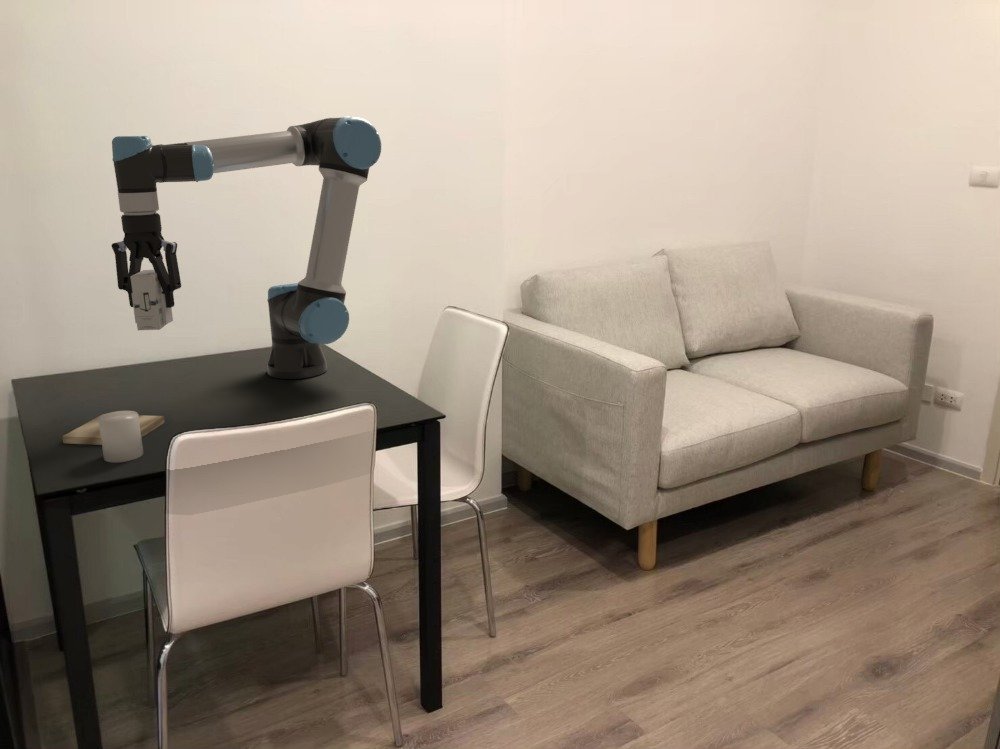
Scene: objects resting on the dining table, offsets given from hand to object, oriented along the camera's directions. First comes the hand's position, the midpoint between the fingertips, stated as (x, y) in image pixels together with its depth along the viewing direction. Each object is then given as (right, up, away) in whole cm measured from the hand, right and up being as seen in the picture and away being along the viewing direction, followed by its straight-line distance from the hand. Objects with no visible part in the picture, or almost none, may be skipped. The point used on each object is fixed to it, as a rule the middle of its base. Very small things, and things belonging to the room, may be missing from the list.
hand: (154, 321), depth 180 cm
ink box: (0, -1, 0) cm, 1 cm away
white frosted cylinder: (+2, -27, -19) cm, 33 cm away
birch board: (-5, -23, -6) cm, 25 cm away
